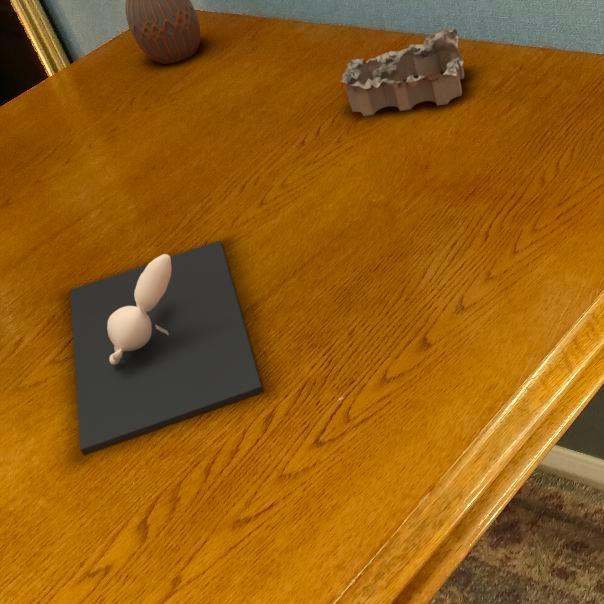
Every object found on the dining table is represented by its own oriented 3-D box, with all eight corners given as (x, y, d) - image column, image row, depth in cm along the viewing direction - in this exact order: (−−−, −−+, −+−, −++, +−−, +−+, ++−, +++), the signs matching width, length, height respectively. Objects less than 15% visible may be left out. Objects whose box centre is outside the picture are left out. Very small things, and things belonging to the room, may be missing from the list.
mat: (74, 298, 77) (69, 289, 77) (224, 248, 79) (220, 239, 78) (86, 458, 64) (80, 449, 64) (265, 395, 66) (261, 386, 65)
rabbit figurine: (87, 358, 70) (136, 257, 71) (142, 384, 72) (189, 285, 73) (95, 350, 65) (147, 242, 66) (153, 379, 67) (204, 273, 68)
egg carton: (471, 71, 93) (462, 25, 90) (461, 110, 88) (451, 63, 85) (361, 83, 95) (349, 39, 92) (345, 122, 90) (331, 77, 87)
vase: (154, 78, 103) (114, -12, 97) (139, 57, 108) (100, -30, 101) (217, 55, 105) (182, -35, 98) (199, 36, 109) (165, -52, 103)
